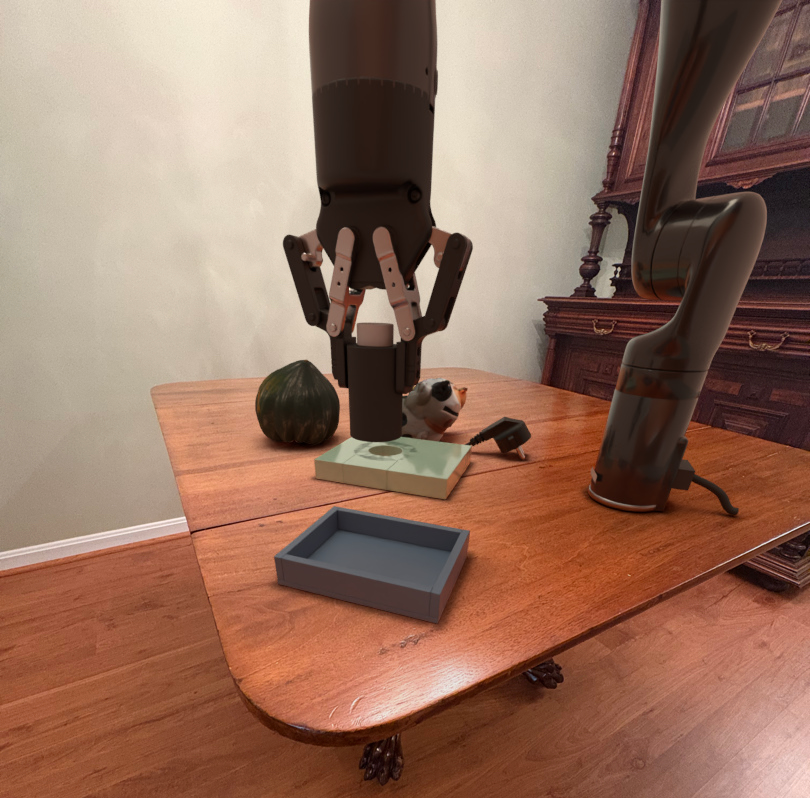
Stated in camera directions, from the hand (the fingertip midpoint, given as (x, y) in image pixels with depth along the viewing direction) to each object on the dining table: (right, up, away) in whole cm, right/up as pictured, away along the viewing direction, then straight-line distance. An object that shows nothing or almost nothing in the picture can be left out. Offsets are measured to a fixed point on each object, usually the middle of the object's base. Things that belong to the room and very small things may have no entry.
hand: (376, 388), depth 34 cm
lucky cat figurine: (+6, +8, +49) cm, 50 cm away
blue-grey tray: (0, -15, +8) cm, 17 cm away
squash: (-17, +6, +45) cm, 49 cm away
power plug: (+18, +3, +41) cm, 44 cm away
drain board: (+1, -1, +32) cm, 33 cm away
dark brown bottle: (0, -3, +2) cm, 4 cm away
